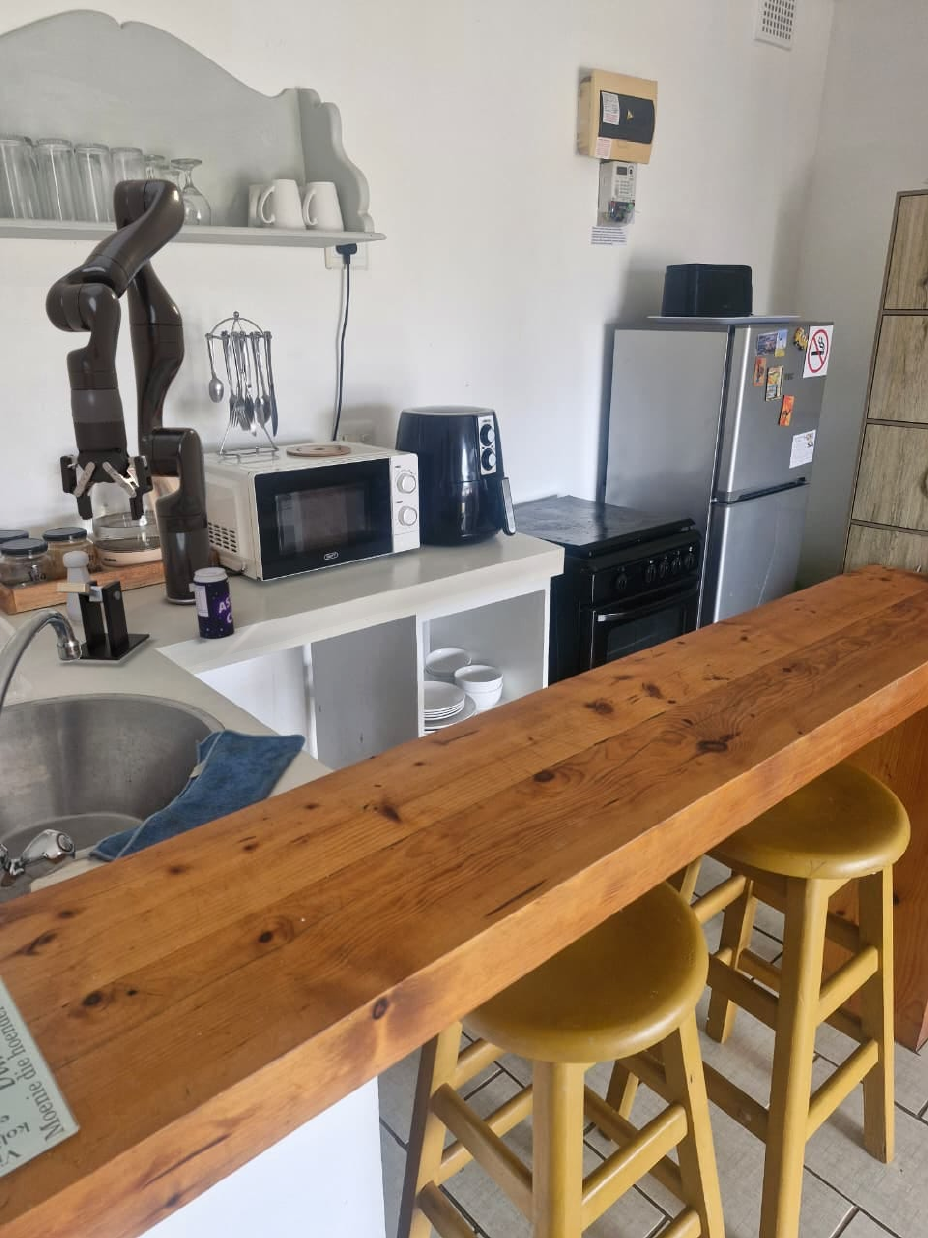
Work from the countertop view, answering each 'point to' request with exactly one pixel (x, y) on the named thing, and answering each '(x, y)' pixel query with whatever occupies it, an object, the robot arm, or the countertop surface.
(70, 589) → the switch lever
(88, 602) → the lever switch base
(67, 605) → the salt shaker
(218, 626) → the beverage can
